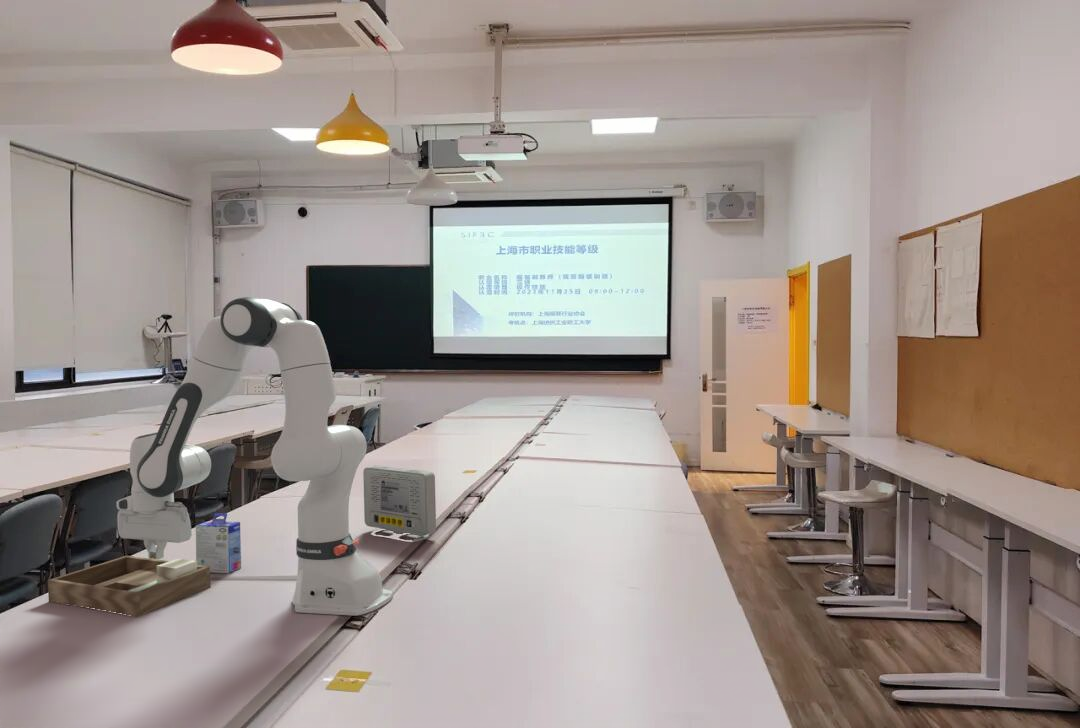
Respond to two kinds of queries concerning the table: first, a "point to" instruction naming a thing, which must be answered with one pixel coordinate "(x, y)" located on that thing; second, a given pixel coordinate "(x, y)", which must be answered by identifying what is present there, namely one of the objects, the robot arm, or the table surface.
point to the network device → (400, 500)
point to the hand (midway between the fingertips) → (156, 558)
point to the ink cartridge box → (219, 545)
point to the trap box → (125, 586)
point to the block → (175, 569)
